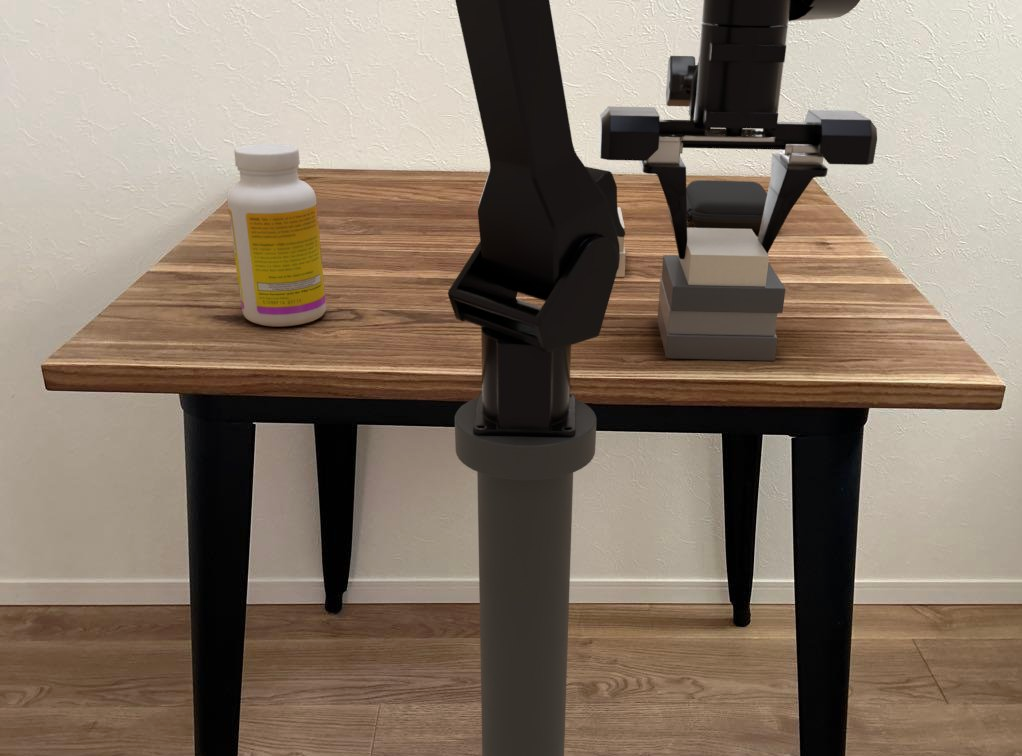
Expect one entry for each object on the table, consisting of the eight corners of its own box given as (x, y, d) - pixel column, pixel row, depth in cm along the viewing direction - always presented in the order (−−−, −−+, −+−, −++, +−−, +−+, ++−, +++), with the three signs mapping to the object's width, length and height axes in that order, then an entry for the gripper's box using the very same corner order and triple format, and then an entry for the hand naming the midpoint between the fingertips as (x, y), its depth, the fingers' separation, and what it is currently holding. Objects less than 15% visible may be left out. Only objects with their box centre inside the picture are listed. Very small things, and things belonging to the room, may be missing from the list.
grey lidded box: (776, 361, 77) (785, 288, 75) (666, 358, 77) (671, 286, 75) (757, 324, 85) (765, 256, 82) (657, 322, 85) (661, 254, 82)
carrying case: (670, 203, 123) (678, 234, 110) (672, 176, 122) (680, 204, 109) (762, 205, 123) (780, 236, 110) (765, 178, 121) (784, 206, 108)
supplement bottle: (343, 316, 85) (330, 148, 79) (274, 335, 81) (254, 159, 74) (294, 298, 89) (277, 137, 83) (226, 315, 85) (202, 147, 78)
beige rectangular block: (765, 287, 75) (769, 256, 74) (688, 285, 75) (690, 254, 74) (748, 257, 82) (751, 228, 81) (677, 256, 82) (680, 227, 81)
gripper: (856, 18, 77) (824, 234, 85) (601, 14, 77) (592, 230, 85) (897, 30, 67) (857, 272, 75) (606, 25, 68) (596, 267, 75)
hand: (721, 258), depth 78 cm, fingers closed on beige rectangular block, 5 cm apart
